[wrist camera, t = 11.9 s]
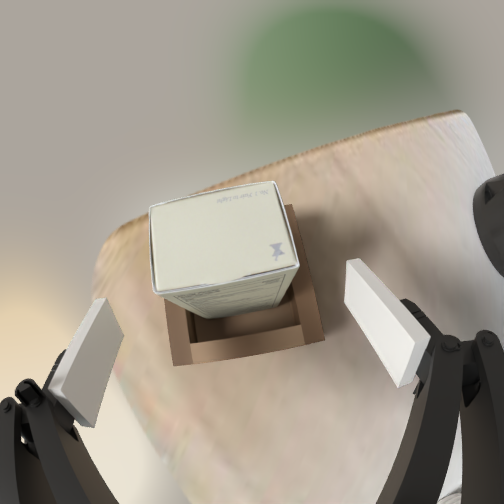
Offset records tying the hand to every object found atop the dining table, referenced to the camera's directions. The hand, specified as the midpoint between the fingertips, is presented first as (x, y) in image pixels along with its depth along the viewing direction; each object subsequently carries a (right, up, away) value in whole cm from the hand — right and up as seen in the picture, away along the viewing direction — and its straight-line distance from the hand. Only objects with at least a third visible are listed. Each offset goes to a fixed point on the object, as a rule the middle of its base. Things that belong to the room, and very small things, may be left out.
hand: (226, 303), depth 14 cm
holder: (0, -1, +10) cm, 10 cm away
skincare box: (0, -1, +9) cm, 9 cm away
